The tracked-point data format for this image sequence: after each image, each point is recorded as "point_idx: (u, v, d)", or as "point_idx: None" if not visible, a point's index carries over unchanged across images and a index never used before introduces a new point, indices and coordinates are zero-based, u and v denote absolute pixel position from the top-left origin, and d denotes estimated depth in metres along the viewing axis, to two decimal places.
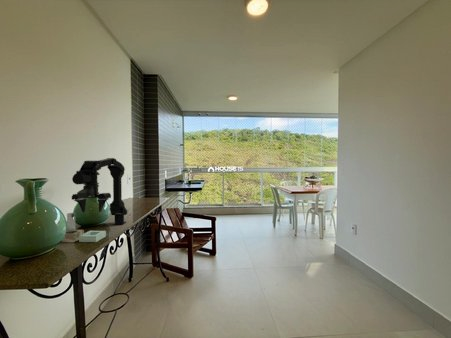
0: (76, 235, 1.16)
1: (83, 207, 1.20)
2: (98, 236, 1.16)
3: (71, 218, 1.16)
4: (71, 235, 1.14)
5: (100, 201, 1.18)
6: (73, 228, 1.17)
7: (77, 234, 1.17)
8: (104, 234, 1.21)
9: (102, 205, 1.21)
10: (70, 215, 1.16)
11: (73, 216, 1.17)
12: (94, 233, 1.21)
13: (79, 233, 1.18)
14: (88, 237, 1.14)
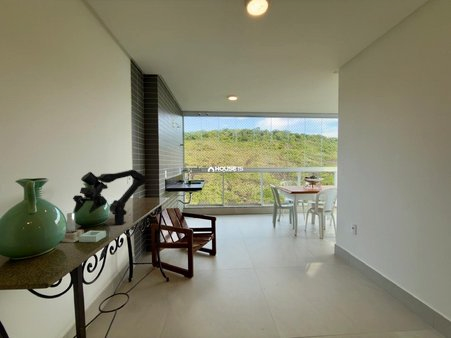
0: (76, 235, 1.16)
1: (77, 208, 1.27)
2: (98, 236, 1.16)
3: (71, 218, 1.16)
4: (71, 235, 1.14)
5: (95, 201, 1.26)
6: (73, 228, 1.17)
7: (77, 234, 1.17)
8: (104, 234, 1.21)
9: (94, 207, 1.26)
10: (70, 215, 1.16)
11: (73, 216, 1.17)
12: (94, 233, 1.21)
13: (79, 233, 1.18)
14: (88, 237, 1.14)
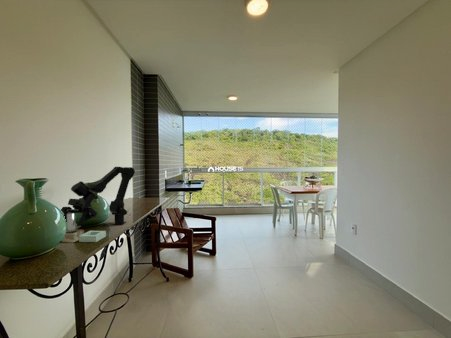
0: (76, 235, 1.16)
1: None
2: (98, 236, 1.16)
3: (71, 218, 1.16)
4: (71, 235, 1.14)
5: (84, 214, 1.18)
6: (73, 228, 1.17)
7: (77, 234, 1.17)
8: (104, 234, 1.21)
9: (83, 220, 1.19)
10: (70, 215, 1.16)
11: (73, 216, 1.17)
12: (94, 233, 1.21)
13: (79, 233, 1.18)
14: (88, 237, 1.14)
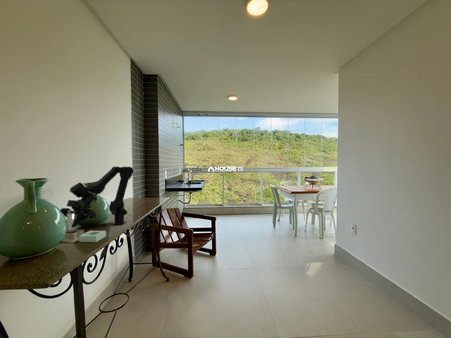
0: (76, 235, 1.16)
1: None
2: (98, 236, 1.16)
3: (71, 218, 1.16)
4: (71, 235, 1.14)
5: (79, 215, 1.18)
6: (73, 228, 1.17)
7: (77, 234, 1.17)
8: (104, 234, 1.21)
9: (78, 221, 1.18)
10: (70, 215, 1.16)
11: (73, 216, 1.17)
12: (94, 233, 1.21)
13: (79, 233, 1.18)
14: (88, 237, 1.14)
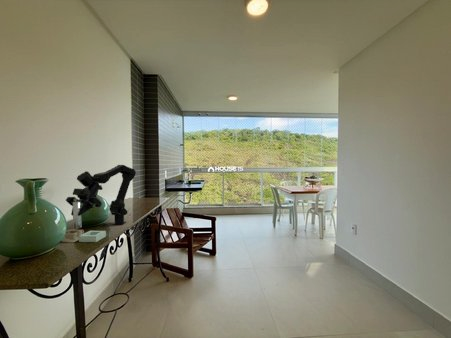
0: (76, 235, 1.16)
1: None
2: (98, 236, 1.16)
3: (77, 206, 1.16)
4: (71, 235, 1.14)
5: (84, 203, 1.18)
6: (79, 216, 1.17)
7: (77, 234, 1.17)
8: (104, 234, 1.21)
9: (84, 210, 1.19)
10: (76, 203, 1.16)
11: (79, 204, 1.17)
12: (94, 233, 1.21)
13: (79, 233, 1.18)
14: (88, 237, 1.14)
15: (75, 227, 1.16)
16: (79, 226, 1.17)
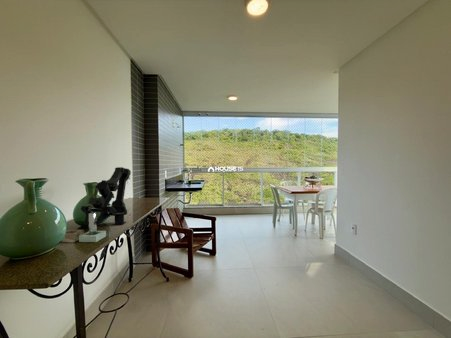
0: (76, 235, 1.16)
1: (87, 219, 1.19)
2: (98, 236, 1.16)
3: (93, 217, 1.17)
4: (71, 235, 1.14)
5: (102, 212, 1.19)
6: (95, 228, 1.18)
7: (77, 234, 1.17)
8: (104, 234, 1.21)
9: (101, 219, 1.19)
10: (92, 215, 1.17)
11: (95, 216, 1.18)
12: None
13: (79, 233, 1.18)
14: (88, 237, 1.14)
15: None
16: None
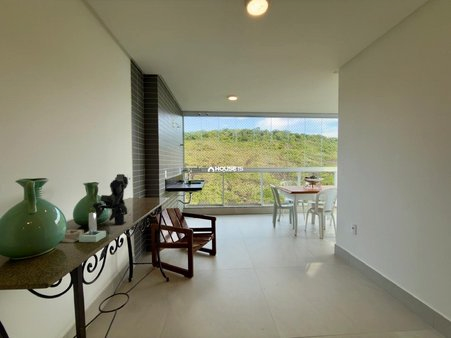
0: (76, 235, 1.16)
1: (97, 215, 1.28)
2: (98, 236, 1.16)
3: (93, 217, 1.17)
4: (71, 235, 1.14)
5: (115, 209, 1.27)
6: (95, 228, 1.18)
7: (77, 234, 1.17)
8: (104, 234, 1.21)
9: (114, 215, 1.27)
10: (92, 215, 1.17)
11: (95, 216, 1.18)
12: None
13: (79, 233, 1.18)
14: (88, 237, 1.14)
15: None
16: None
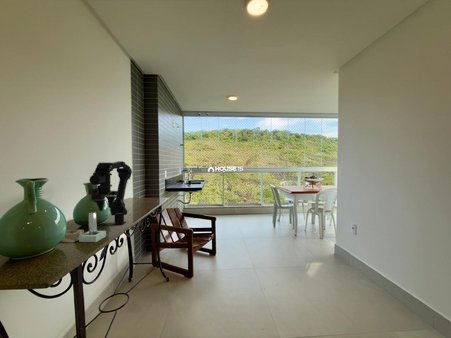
0: (76, 235, 1.16)
1: (109, 203, 1.37)
2: (98, 236, 1.16)
3: (93, 217, 1.17)
4: (71, 235, 1.14)
5: None
6: (95, 228, 1.18)
7: (77, 234, 1.17)
8: (104, 234, 1.21)
9: (100, 205, 1.26)
10: (92, 215, 1.17)
11: (95, 216, 1.18)
12: None
13: (79, 233, 1.18)
14: (88, 237, 1.14)
15: None
16: None
